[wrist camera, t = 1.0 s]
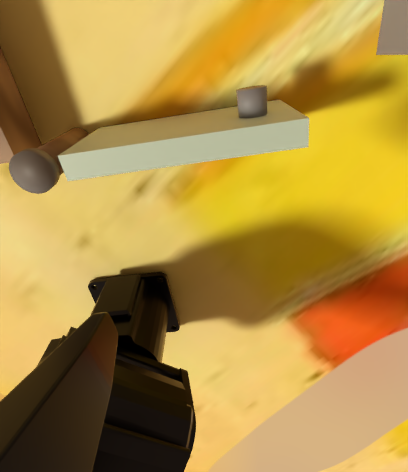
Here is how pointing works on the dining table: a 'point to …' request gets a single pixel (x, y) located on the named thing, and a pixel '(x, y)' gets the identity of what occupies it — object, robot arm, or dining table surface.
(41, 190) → the hinge post
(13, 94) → the bar
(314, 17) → the dining table surface
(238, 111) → the door
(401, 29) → the grey block
